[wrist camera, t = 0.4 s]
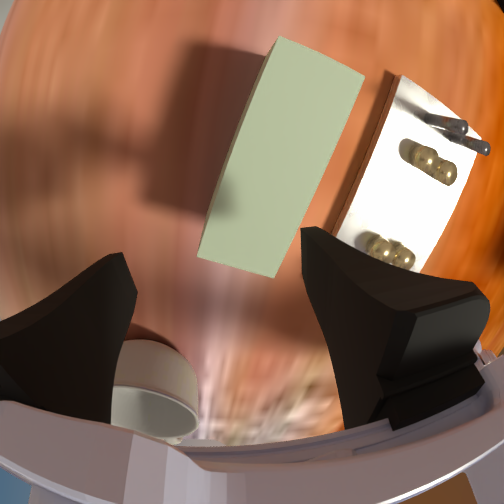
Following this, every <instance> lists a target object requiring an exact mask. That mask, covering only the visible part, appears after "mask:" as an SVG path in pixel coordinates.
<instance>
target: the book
mask: <svg viewBox="0 0 504 504" xmlns="http://www.w3.org/2000/svg"><path fill="white" fill-rule="evenodd" d="M497 1H498V3H499V5H500V6H501V8H502V10H503V12H504V0H497Z"/></svg>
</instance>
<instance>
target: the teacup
mask: <svg viewBox="0 0 504 504" xmlns="http://www.w3.org/2000/svg"><path fill="white" fill-rule="evenodd" d="M111 425H114V426H118V427H122V428H127V429H131V430H135V431H138V432H141V433H143V434H146V435H149V436H152V437H155V438H158V439H164V441H166V442H167V443H169V444H171V445H173V444H179V443H180V442H181V441H182V439H183V437H184V436H188V435H190V434H191V433H193V432H194V431H195V430H196V429H197V428H198V426H199V417H198V388H197V379H196V375H195V372H194V370H193V368H192V366H191V364H190V363H189V362H188V361H187V359H186V358H185V357H183V356H182V355H181V354H180V353H178V352H177V351H176V350H174V349H172V348H170V347H168V346H167V345H165V344H162V343H160V342H156V341H152V340H144V339H141V340H138V339H136V340H127V341H124V342H123V345H122V348H121V351H120V354H119V358H118V362H117V366H116V372H115V378H114V385H113V394H112V408H111Z"/></svg>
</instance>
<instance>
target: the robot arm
mask: <svg viewBox="0 0 504 504" xmlns="http://www.w3.org/2000/svg"><path fill="white" fill-rule="evenodd" d="M300 229H301V257H302V275H303V279H304V283H305V287H306V291H307V294H308V297H309V299H310V302H311V304H312V307H313V309H314V312H315V314H316V317H317V319H318V321H319V324H320V326H321V329H322V331H323V334H324V337H325V340H326V343H327V346H328V349H329V353H330V357H331V361H332V365H333V370H334V374H335V379H336V383H337V388H338V393H339V398H340V403H341V409H342V415H343V421H344V427H345V430H343V431H339V432H334V433H330V434H325V435H320V436H315V437H309V438H304V439H297V440H291V441H284V442H276V443H267V444H257V445H244V446H223V447H185V446H172V445H171V444H169V443H167V442H166V441H164V440H161V439H158V438H155V437H152V436H149V435H146V434H143V433H141V432H138V431H135V430H131V429H127V428H122V427H118V426H114V425H111V408H112V394H113V385H114V378H115V372H116V366H117V362H118V358H119V354H120V351H121V348H122V345H123V342H124V339H125V336H126V333H127V330H128V327H129V324H130V321H131V319H132V316H133V313H134V308H135V304H136V298H137V293H138V292H137V289H136V287H135V284H134V282H133V279H132V277H131V274H130V272H129V269H128V266H127V264H126V261H125V258H124V255H123V253H122V252H120V253H113V254H109V255H107V256H105V257H103V258H102V259H100V260H98V261H97V262H95V263H94V264H93V265H91V266H90V267H88V268H87V269H86V270H84V271H83V272H82V273H80V274H79V275H78V276H76V277H75V278H73V279H72V280H71V281H69V282H68V283H66V284H65V285H64V286H62V287H61V288H60V289H58V290H57V291H55V292H54V293H52V294H51V295H49V296H48V297H46V298H45V299H43V300H41V301H40V302H38V303H36V304H35V305H33V306H31V307H29V308H27V309H25V310H23V311H22V312H20V313H18V314H16V315H13V316H11V317H9V318H7V319H4V320H2V321H0V467H1V468H2V469H4V470H5V471H7V472H9V473H10V474H12V475H14V476H15V477H17V478H19V479H21V480H22V481H24V482H26V483H28V484H30V485H32V487H31V492H30V497H29V503H28V504H397V503H399V502H402V501H404V500H407V499H409V498H411V497H414V496H416V495H418V494H420V493H422V492H425V491H427V490H429V489H431V488H433V487H435V486H437V485H439V484H441V483H443V482H445V481H446V480H448V479H450V478H452V477H454V476H455V475H457V474H459V473H461V472H465V473H466V475H467V477H468V479H469V482H470V484H471V487H472V490H473V492H474V495H475V498H476V500H477V503H478V504H504V354H503V355H501V356H500V357H498V358H496V356H495V355H494V354H493V352H492V351H491V350H485V349H484V350H482V349H481V343H480V340H479V337H480V336H481V334H482V332H483V330H484V328H485V326H486V323H487V321H488V318H489V313H490V303H489V300H488V299H487V298H486V296H485V295H484V294H483V293H482V292H481V291H480V290H479V288H478V287H477V286H476V285H475V284H474V283H473V282H468V281H460V280H452V279H444V278H439V277H434V276H429V275H425V274H421V273H417V272H413V271H410V270H407V269H403V268H400V267H397V266H394V265H391V264H389V263H386V262H384V261H381V260H379V259H376V258H374V257H372V256H370V255H367V254H365V253H363V252H361V251H360V250H358V249H356V248H354V247H352V246H350V245H348V244H346V243H345V242H343V241H341V240H340V239H338V238H336V237H334V236H333V235H331V234H329V233H328V232H326V231H324V230H323V229H321V228H319V227H317V226H314V227H305V228H300Z"/></svg>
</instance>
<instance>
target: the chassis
mask: <svg viewBox="0 0 504 504" xmlns="http://www.w3.org/2000/svg"><path fill="white" fill-rule="evenodd" d="M481 139H482V138H481V137H480V136H479V135H478V134H477V133H476V132H475V131H473V130H472V129H471V128H470V127H469V126H468V123H467V122H466V121H465V120H461V119H460V118H459V117H458V116H457V115H456V114H454V113H453V112H452V111H451V110H450V109H448V108H447V107H446V106H445V105H443V104H442V103H441V102H440V101H438V100H437V99H436V98H434V97H433V96H432V95H430V94H429V93H428V92H426V91H425V90H424V89H422V88H421V87H419V86H418V85H417V84H415V83H414V82H412V81H411V80H409V79H408V78H406V77H405V76H403V75H395V77H394V80H393V83H392V86H391V89H390V92H389V95H388V97H387V100H386V103H385V106H384V109H383V111H382V114H381V117H380V119H379V122H378V125H377V127H376V130H375V132H374V135H373V138H372V140H371V143H370V145H369V148H368V150H367V153H366V155H365V158H364V160H363V162H362V165H361V167H360V170H359V172H358V174H357V177H356V179H355V181H354V184H353V186H352V188H351V191H350V193H349V195H348V197H347V200H346V202H345V204H344V206H343V209H342V211H341V213H340V215H339V217H338V220H337V222H336V224H335V226H334V228H333V230H332V233H331V235H333V236H334V237H336V238H338V239H340V240H341V241H343V242H345V243H346V244H348V245H350V246H352V247H354V248H356V249H358V250H360V251H361V252H363V253H365V254H367V255H370V256H372V257H374V258H376V259H379V260H381V261H384V262H386V263H389V264H391V265H394V266H397V267H400V268H403V269H407V270H410V271H413V272H417V273H419V272H420V270H421V269H422V267H423V265H424V264H425V262H426V260H427V259H428V257H429V255H430V253H431V252H432V250H433V248H434V246H435V244H436V243H437V241H438V239H439V237H440V235H441V233H442V231H443V229H444V227H445V225H446V223H447V221H448V219H449V217H450V215H451V213H452V211H453V209H454V207H455V205H456V203H457V200H458V198H459V196H460V194H461V191H462V189H463V187H464V184H465V182H466V180H467V177H468V175H469V172H470V170H471V167H472V164H473V162H474V159H475V156H476V154H477V152H478V153H480V154H483V155H485V156H487V155H489V153H490V144H489V143H488V142H485V141H482V140H481Z"/></svg>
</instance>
